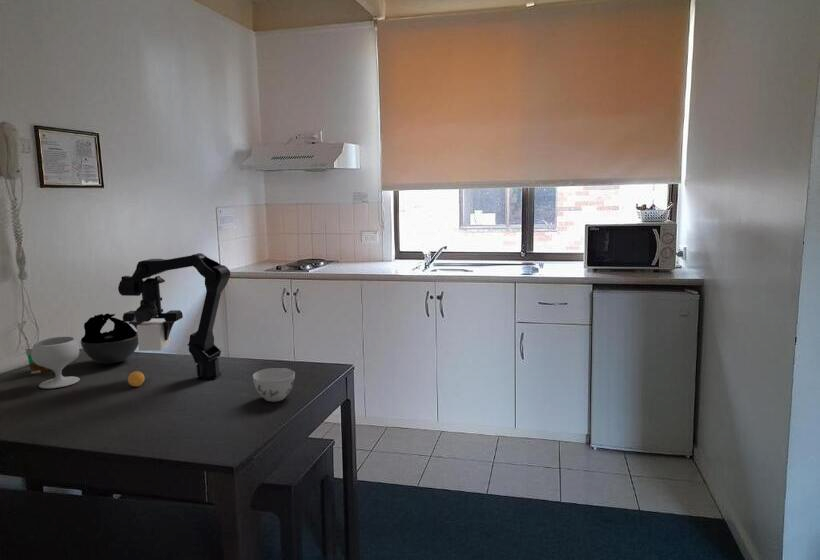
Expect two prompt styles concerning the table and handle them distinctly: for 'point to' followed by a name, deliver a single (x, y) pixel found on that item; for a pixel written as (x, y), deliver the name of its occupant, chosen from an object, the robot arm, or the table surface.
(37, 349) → the chalice
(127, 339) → the bowl of black rocks
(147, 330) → the white foam cube
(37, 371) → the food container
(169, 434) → the table surface
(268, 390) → the teacup
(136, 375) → the ball
